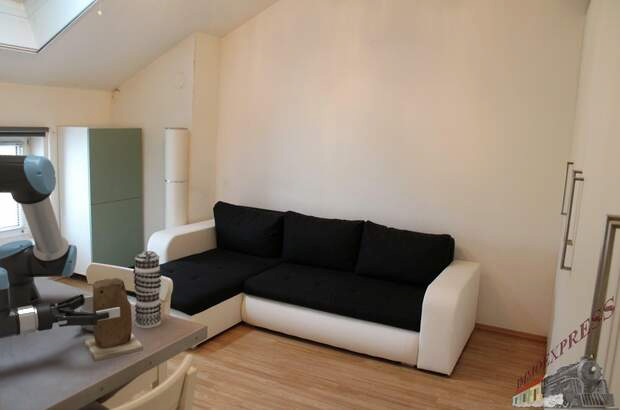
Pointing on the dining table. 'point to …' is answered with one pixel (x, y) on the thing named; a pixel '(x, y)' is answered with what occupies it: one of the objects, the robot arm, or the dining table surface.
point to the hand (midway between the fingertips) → (113, 304)
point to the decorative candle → (147, 289)
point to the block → (108, 297)
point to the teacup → (90, 310)
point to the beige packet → (112, 348)
